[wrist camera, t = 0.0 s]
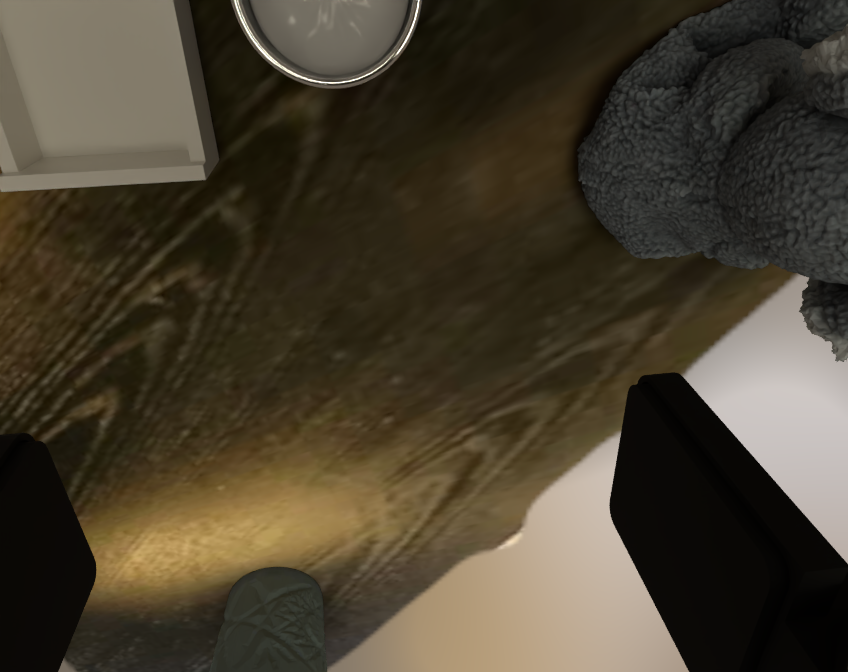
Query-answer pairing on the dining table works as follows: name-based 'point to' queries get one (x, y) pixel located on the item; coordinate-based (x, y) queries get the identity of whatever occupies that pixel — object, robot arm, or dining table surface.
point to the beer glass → (329, 37)
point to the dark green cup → (272, 624)
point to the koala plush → (735, 148)
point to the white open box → (101, 95)
